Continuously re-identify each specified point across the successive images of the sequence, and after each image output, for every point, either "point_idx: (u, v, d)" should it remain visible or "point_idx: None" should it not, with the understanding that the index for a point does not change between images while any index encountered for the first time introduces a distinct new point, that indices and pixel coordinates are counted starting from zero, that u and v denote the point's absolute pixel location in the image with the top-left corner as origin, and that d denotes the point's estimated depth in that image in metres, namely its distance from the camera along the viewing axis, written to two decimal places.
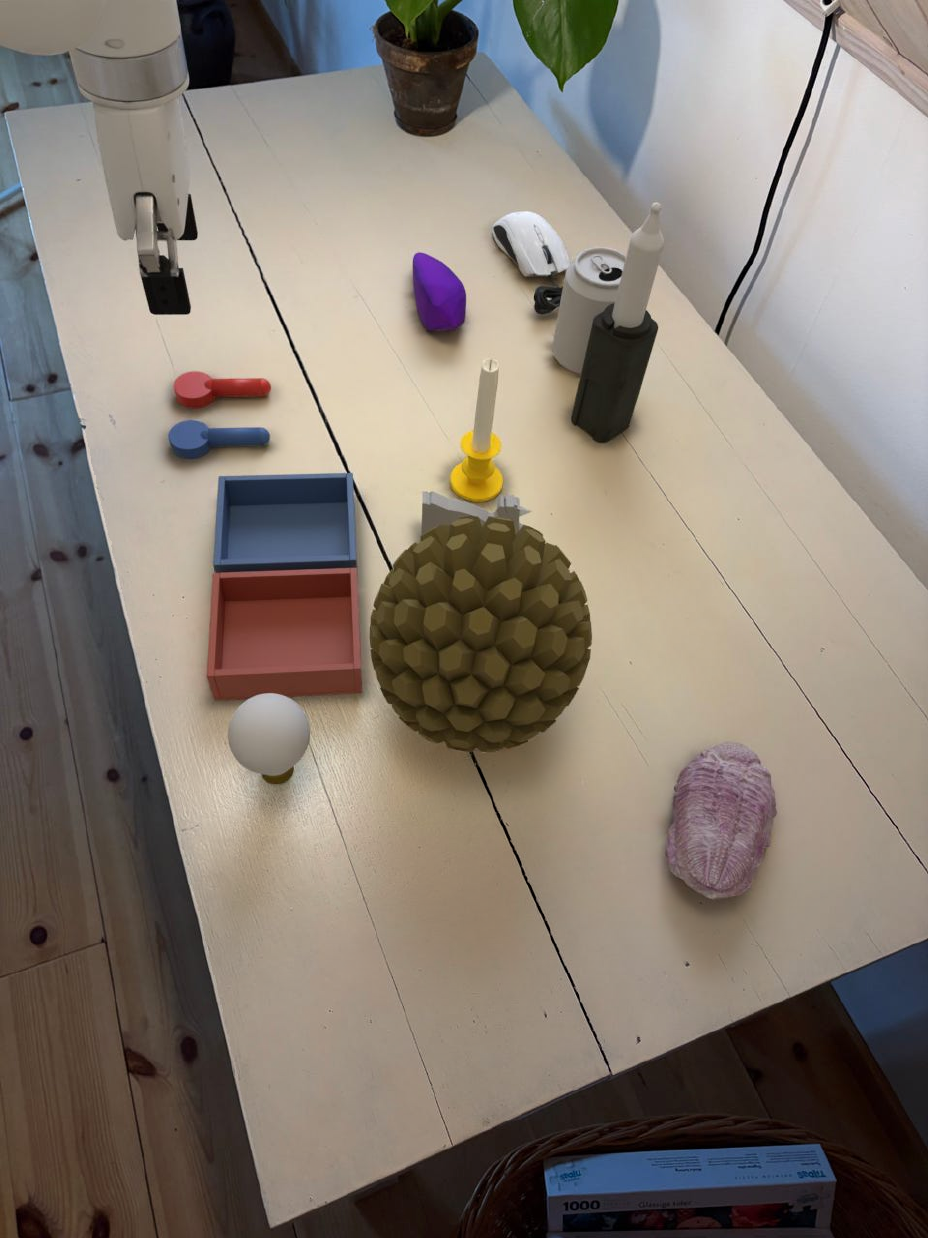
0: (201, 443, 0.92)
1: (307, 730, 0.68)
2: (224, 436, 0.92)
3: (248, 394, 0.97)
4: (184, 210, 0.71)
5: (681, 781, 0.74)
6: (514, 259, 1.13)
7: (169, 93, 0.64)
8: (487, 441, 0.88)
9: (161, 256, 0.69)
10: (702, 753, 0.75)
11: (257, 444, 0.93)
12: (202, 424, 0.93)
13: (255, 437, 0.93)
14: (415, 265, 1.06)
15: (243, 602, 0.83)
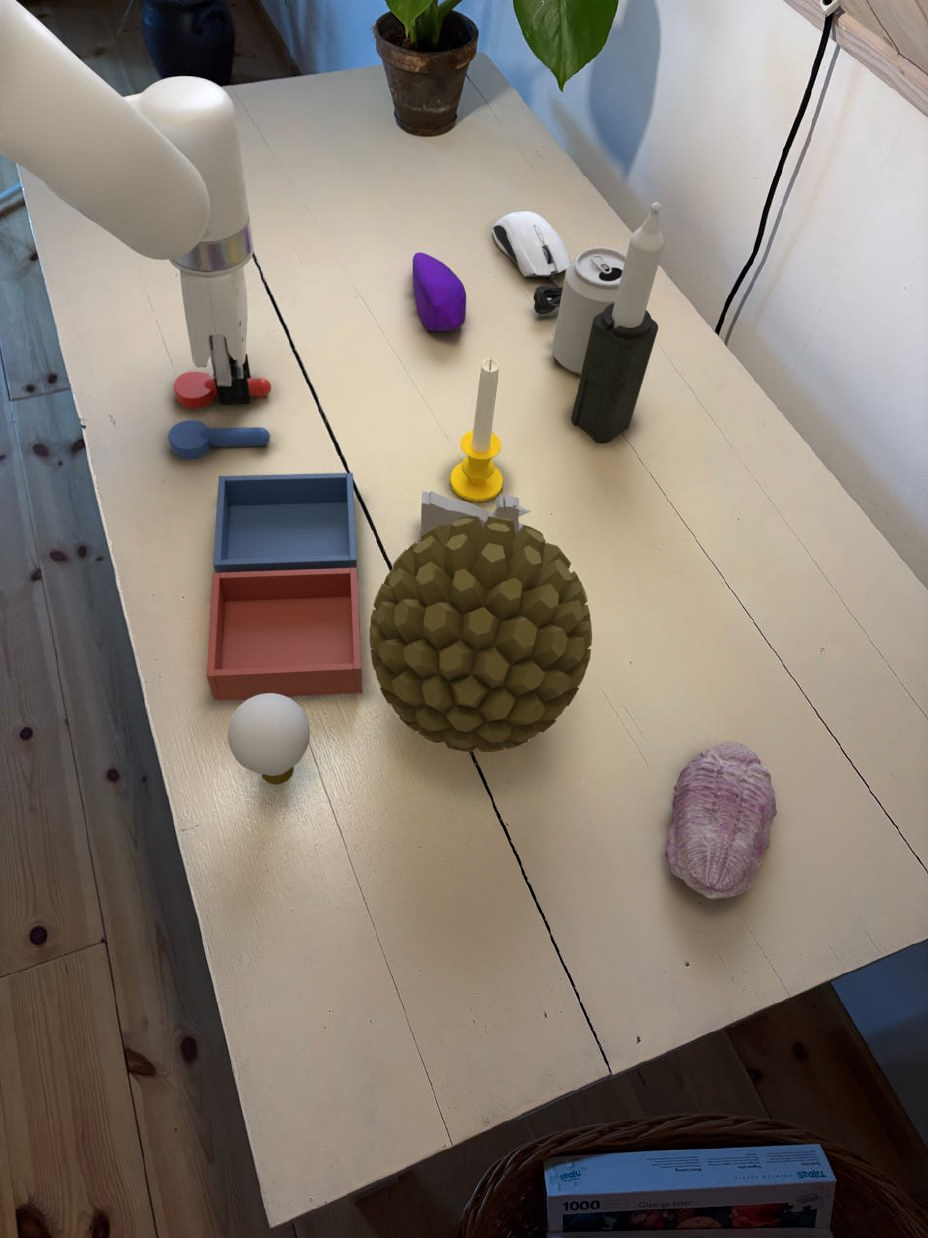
0: (201, 443, 0.92)
1: (307, 730, 0.68)
2: (224, 436, 0.92)
3: None
4: (245, 342, 0.89)
5: (681, 781, 0.74)
6: (514, 259, 1.13)
7: (239, 263, 0.82)
8: (487, 441, 0.88)
9: (232, 366, 0.90)
10: (702, 753, 0.75)
11: (257, 444, 0.93)
12: (202, 424, 0.93)
13: (255, 437, 0.93)
14: (415, 265, 1.06)
15: (243, 602, 0.83)
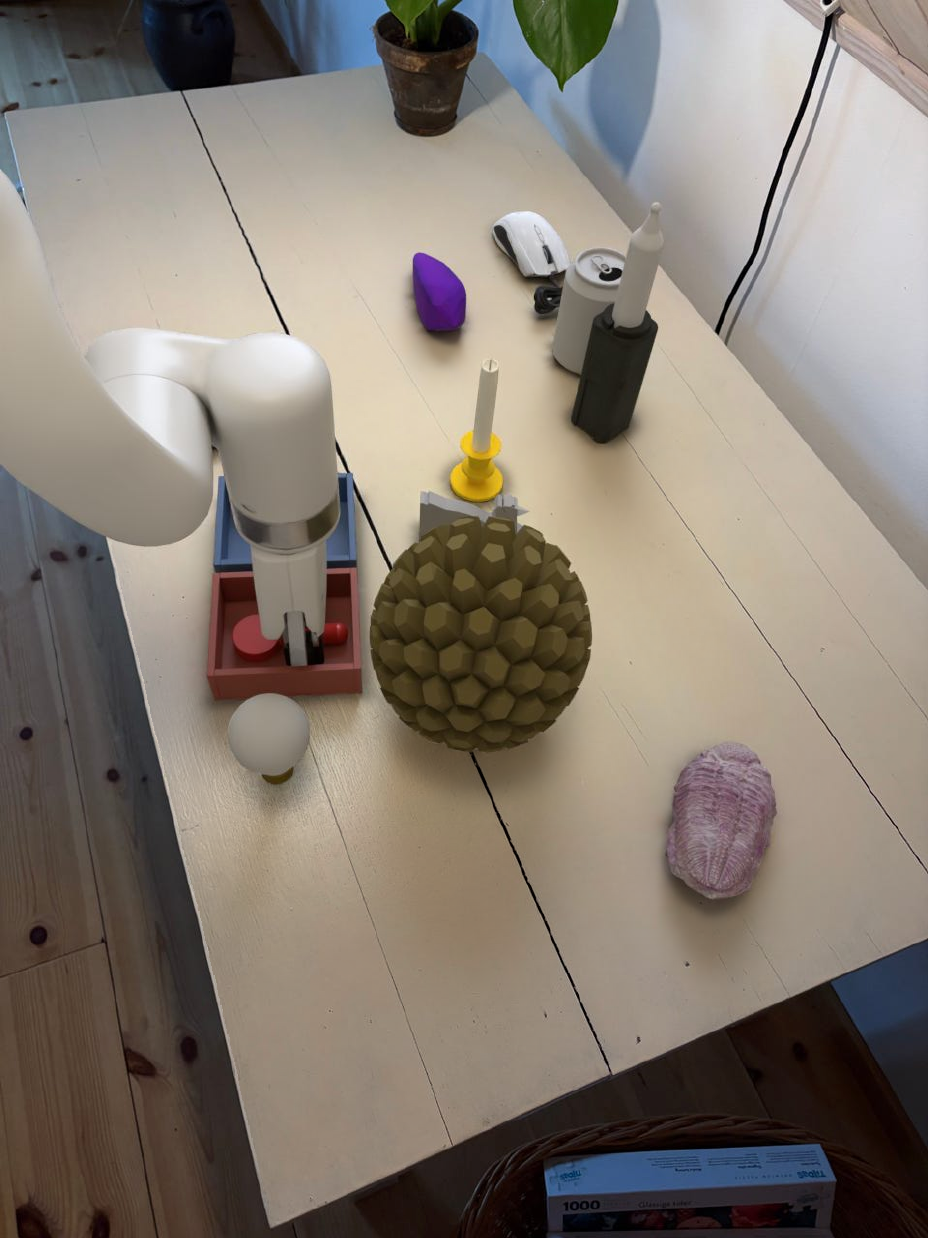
0: None
1: (307, 730, 0.68)
2: None
3: None
4: None
5: (681, 781, 0.74)
6: (514, 259, 1.13)
7: (325, 534, 0.66)
8: (487, 441, 0.88)
9: (308, 641, 0.73)
10: (702, 753, 0.75)
11: None
12: None
13: None
14: (415, 265, 1.06)
15: (243, 602, 0.83)
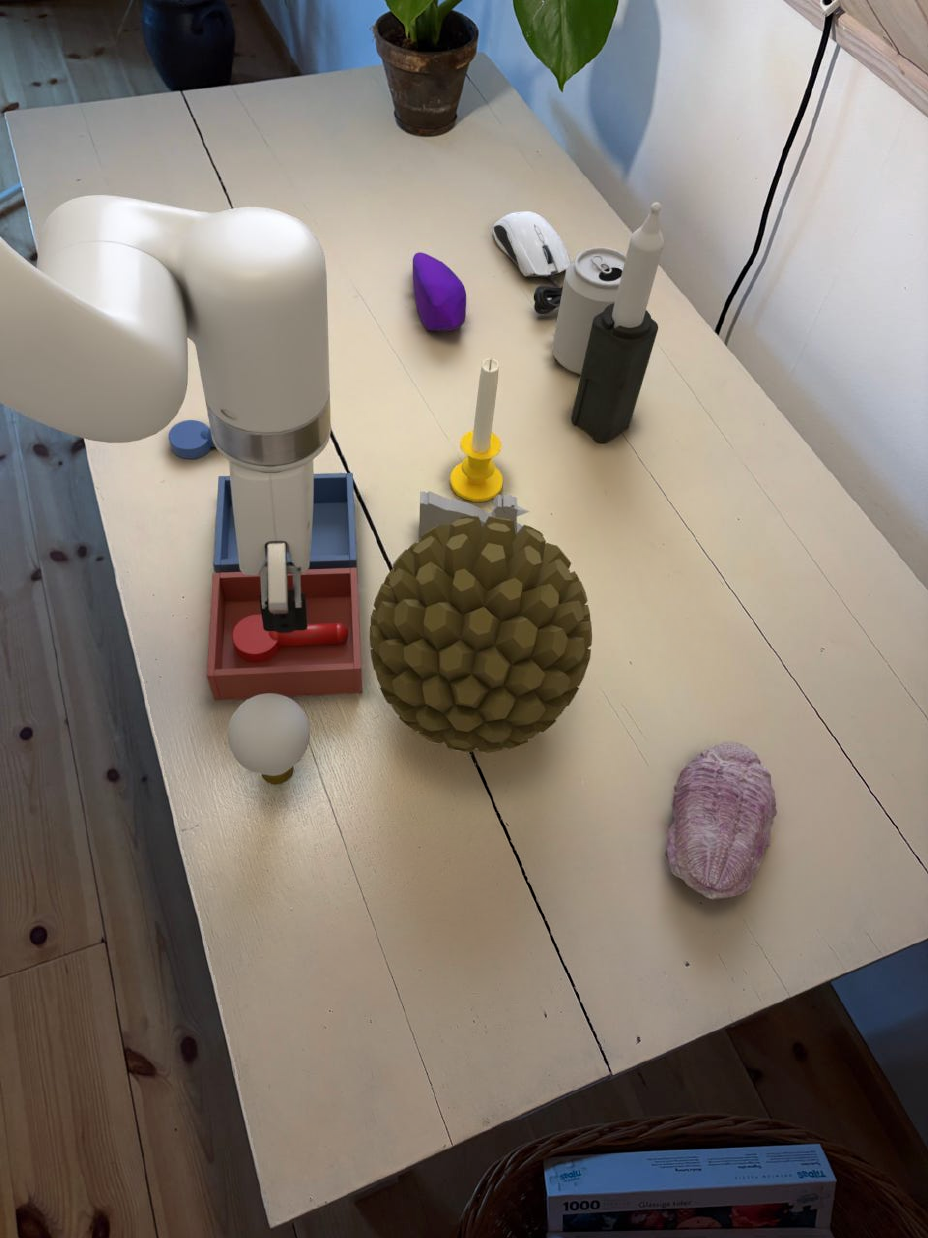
0: (201, 443, 0.92)
1: (307, 730, 0.68)
2: None
3: (321, 643, 0.80)
4: None
5: (681, 781, 0.74)
6: (514, 259, 1.13)
7: (314, 452, 0.59)
8: (487, 441, 0.88)
9: (289, 599, 0.64)
10: (702, 753, 0.75)
11: None
12: (202, 424, 0.93)
13: None
14: (415, 265, 1.06)
15: (243, 602, 0.83)
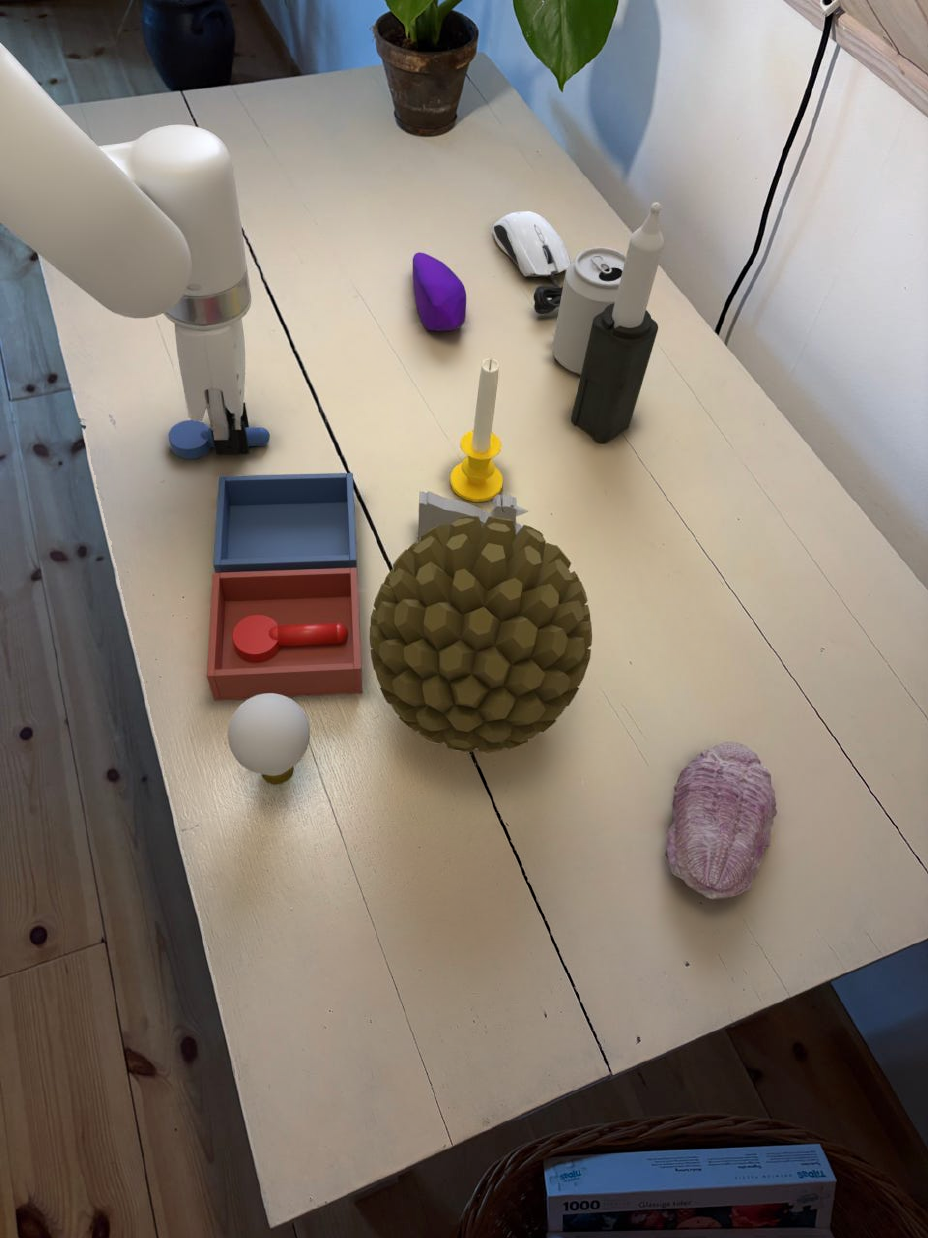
0: (201, 443, 0.92)
1: (307, 730, 0.68)
2: None
3: (321, 643, 0.80)
4: (243, 394, 0.86)
5: (681, 781, 0.74)
6: (514, 259, 1.13)
7: (236, 315, 0.78)
8: (487, 441, 0.88)
9: (229, 418, 0.87)
10: (702, 753, 0.75)
11: (257, 444, 0.93)
12: (202, 424, 0.93)
13: (256, 437, 0.93)
14: (415, 265, 1.06)
15: (243, 602, 0.83)
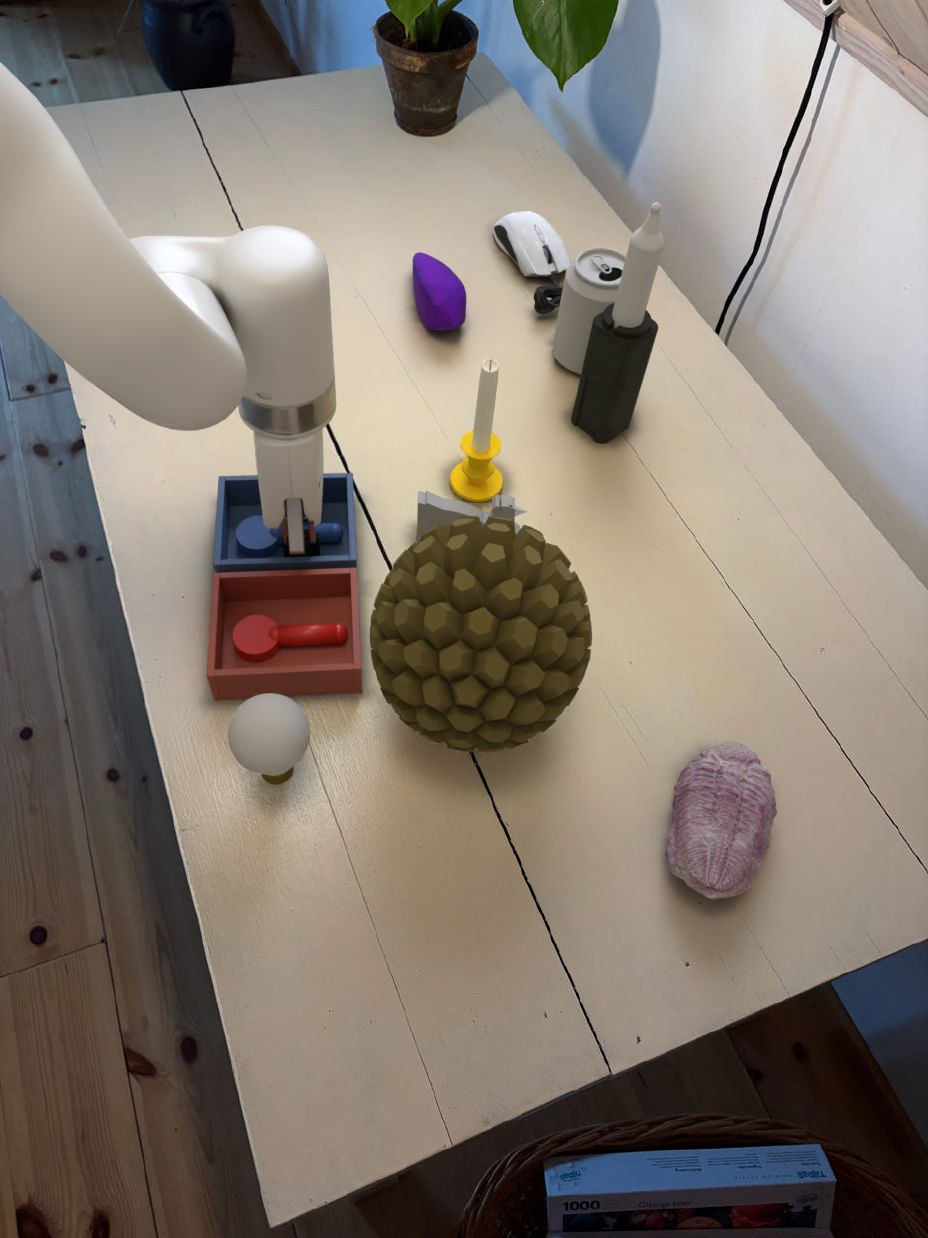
0: (271, 542, 0.85)
1: (307, 730, 0.68)
2: None
3: (321, 643, 0.80)
4: None
5: (681, 781, 0.74)
6: (514, 259, 1.13)
7: (322, 422, 0.72)
8: (487, 441, 0.88)
9: (305, 534, 0.79)
10: (702, 753, 0.75)
11: (330, 541, 0.86)
12: None
13: (329, 535, 0.86)
14: (415, 265, 1.06)
15: (243, 602, 0.83)
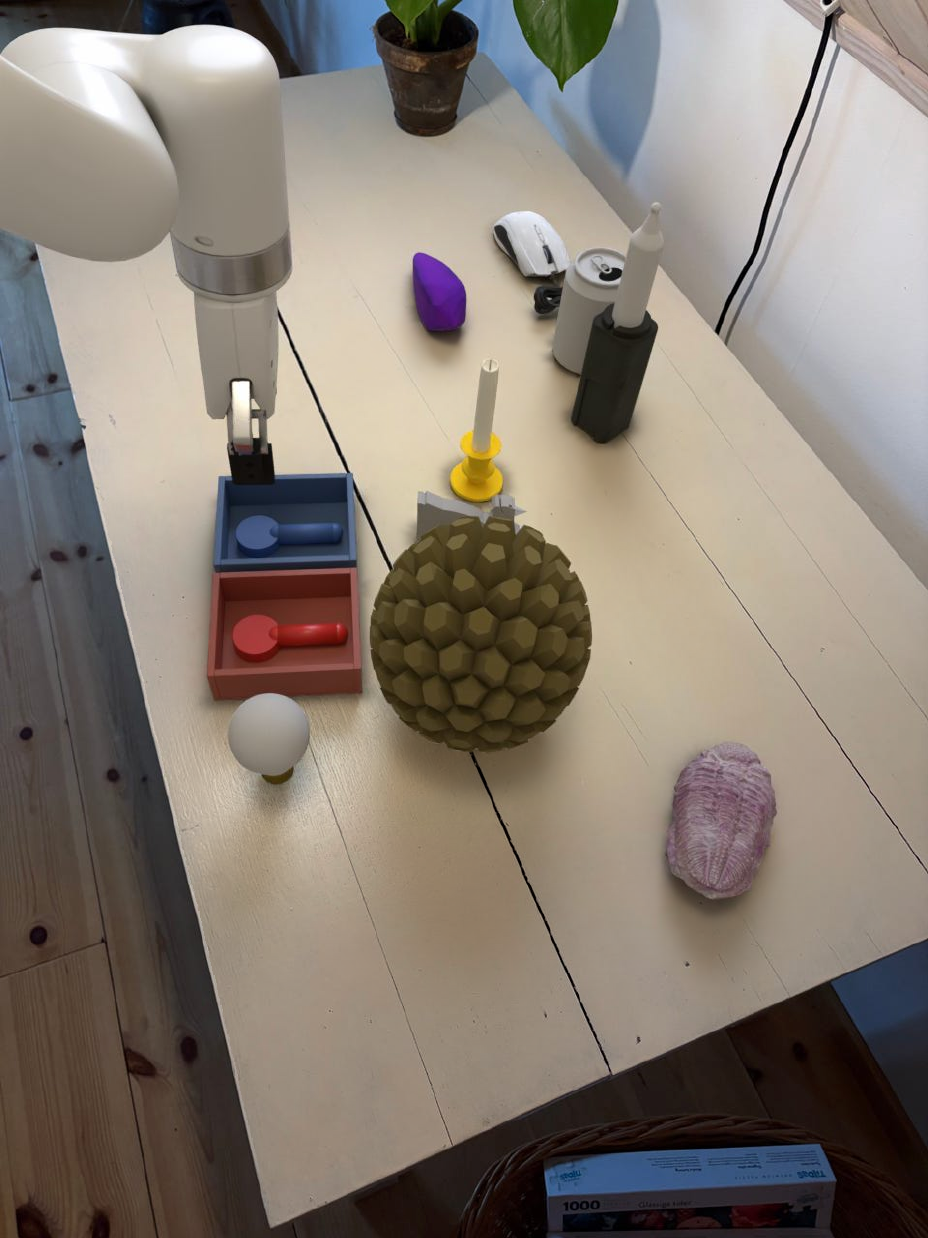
0: (271, 542, 0.85)
1: (307, 730, 0.68)
2: (296, 534, 0.85)
3: (321, 643, 0.80)
4: (276, 387, 0.68)
5: (681, 781, 0.74)
6: (514, 259, 1.13)
7: (274, 284, 0.61)
8: (487, 441, 0.88)
9: (254, 440, 0.66)
10: (702, 753, 0.75)
11: (330, 541, 0.86)
12: (271, 520, 0.86)
13: (329, 535, 0.86)
14: (415, 265, 1.06)
15: (243, 602, 0.83)
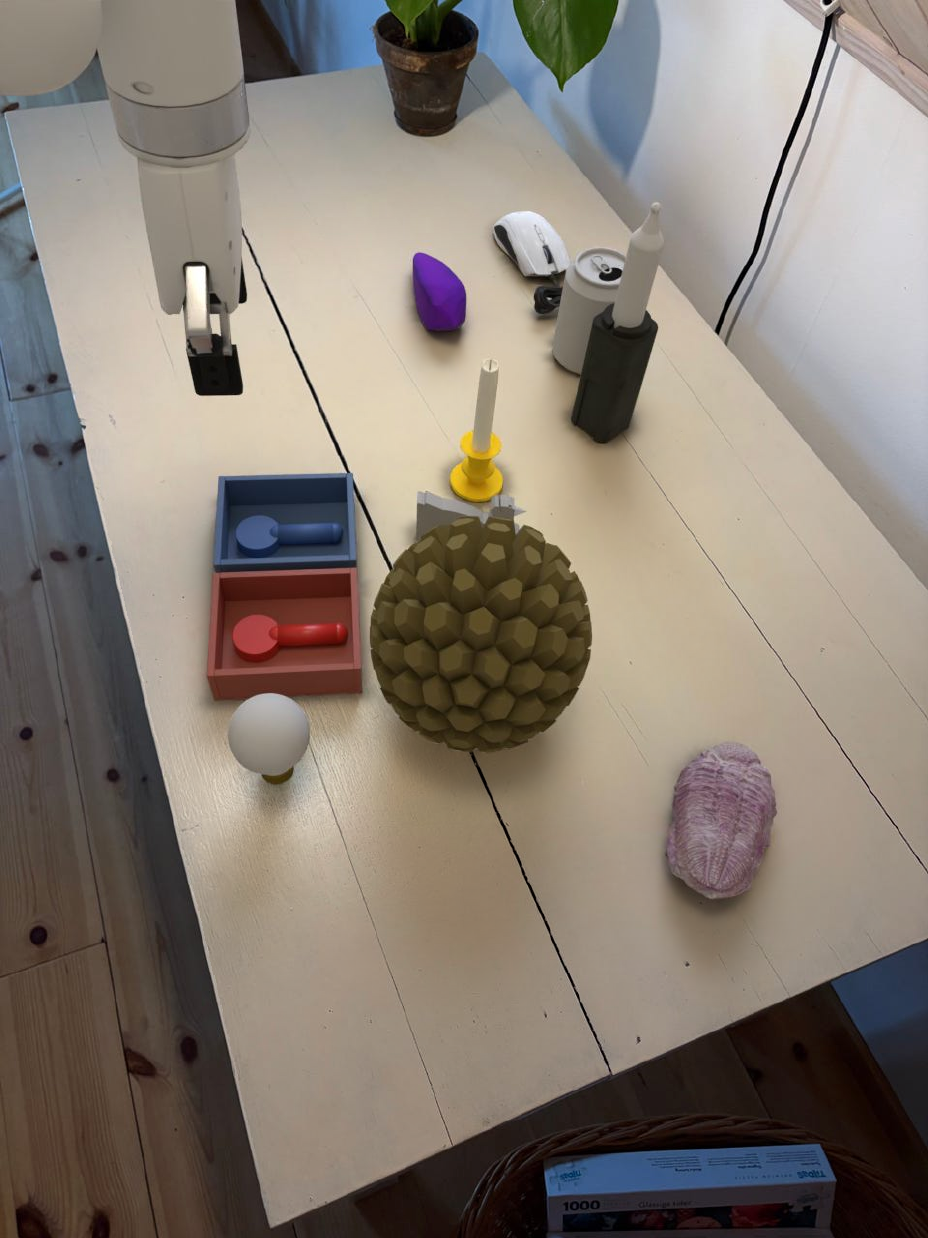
0: (271, 542, 0.85)
1: (307, 730, 0.68)
2: (296, 534, 0.85)
3: (321, 643, 0.80)
4: (239, 278, 0.60)
5: (681, 781, 0.74)
6: (514, 259, 1.13)
7: (229, 146, 0.53)
8: (487, 441, 0.88)
9: (214, 335, 0.58)
10: (702, 753, 0.75)
11: (330, 541, 0.86)
12: (271, 520, 0.86)
13: (329, 535, 0.86)
14: (415, 265, 1.06)
15: (243, 602, 0.83)
